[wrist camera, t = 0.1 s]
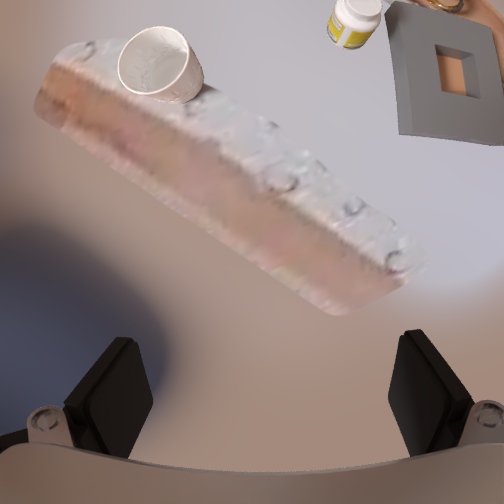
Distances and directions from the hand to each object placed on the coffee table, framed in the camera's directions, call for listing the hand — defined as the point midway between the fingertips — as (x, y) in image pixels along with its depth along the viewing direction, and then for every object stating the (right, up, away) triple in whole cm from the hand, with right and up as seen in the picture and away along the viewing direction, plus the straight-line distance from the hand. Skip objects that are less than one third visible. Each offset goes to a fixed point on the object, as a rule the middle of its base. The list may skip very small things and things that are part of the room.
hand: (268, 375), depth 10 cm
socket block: (+26, +28, +23) cm, 45 cm away
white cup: (-10, +26, +26) cm, 38 cm away
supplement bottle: (+12, +33, +23) cm, 42 cm away
